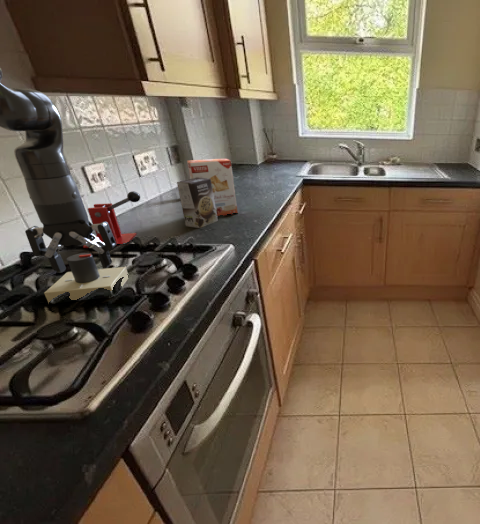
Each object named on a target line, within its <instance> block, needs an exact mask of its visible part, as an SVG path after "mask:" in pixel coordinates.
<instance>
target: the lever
mask: <svg viewBox="0 0 480 524" xmlns="http://www.w3.org/2000/svg"><path fill="white" fill-rule="evenodd" d="M139 201H141V195H140V193H139V192H137V191H133V190H132V191H129V192H127V195H126V198H124V199H122V200H120V201H117V202H115V203H112V205H111V206H109V207H107V209H108V213H110V210H112V209H114V210H115V209H116V208H118V207H120V206H122V205H124V204H127V203H128V202H131V203H138V202H139ZM102 207H106V206H105V205H104V206H102Z"/></svg>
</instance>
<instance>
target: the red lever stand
mask: <svg viewBox="0 0 480 524" xmlns="http://www.w3.org/2000/svg"><path fill="white" fill-rule="evenodd" d="M104 205H105V206H106V207H102V206H104ZM111 205H113V203H109V202H108V203H94V204H93V207H87V213H88V215H89V217H90V220H91V223H92V224H100V223H102V222H104V221H106V222H108V224H109V226H110V229H111V231H112V234H113V236H114V239H115V241H116V243H117V244H123V243H127V242H129V241H130V240H131V241H132V240H133V239H134V238H135V237H136V236H137V234H138V233H137V232H132V233H131V232H130V233H122V231H121V227H120V224H119V221H118V218H117V215H116V212H115V208H114V209H112V210H110V213H108V209H107V207H109V206H111ZM94 233H95V236H96V237H98V238H99V239H100V241H102V242H103V239H102V237H101V235H100V234H99V233H97V231H96V230H94ZM89 240H90V239H89ZM90 241H91V240H90ZM131 241H130V242H131ZM130 242H129V243H130ZM103 243H104V242H103ZM82 248H83V249H88V248H89V247H87V246H86V245H84V244H83V246H82ZM89 249H90V248H89Z"/></svg>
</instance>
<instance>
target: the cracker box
mask: <svg viewBox="0 0 480 524" xmlns="http://www.w3.org/2000/svg"><path fill="white" fill-rule="evenodd" d="M186 162H187V168H188V173H189V179H194V178H207V179H211V183H212V189H213V195H214V201H215V207H216V212H217V217H219V216H220V215H223V216H228V215H227V214H231V215H233V214H232V213H238V214H239V212H238V205H237V198H236V191H235V190H236V189H235V182H234V174H233V168H232V167H233V166H232V161H231V160H230V159H229V158H208V159H190V160H186Z"/></svg>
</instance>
